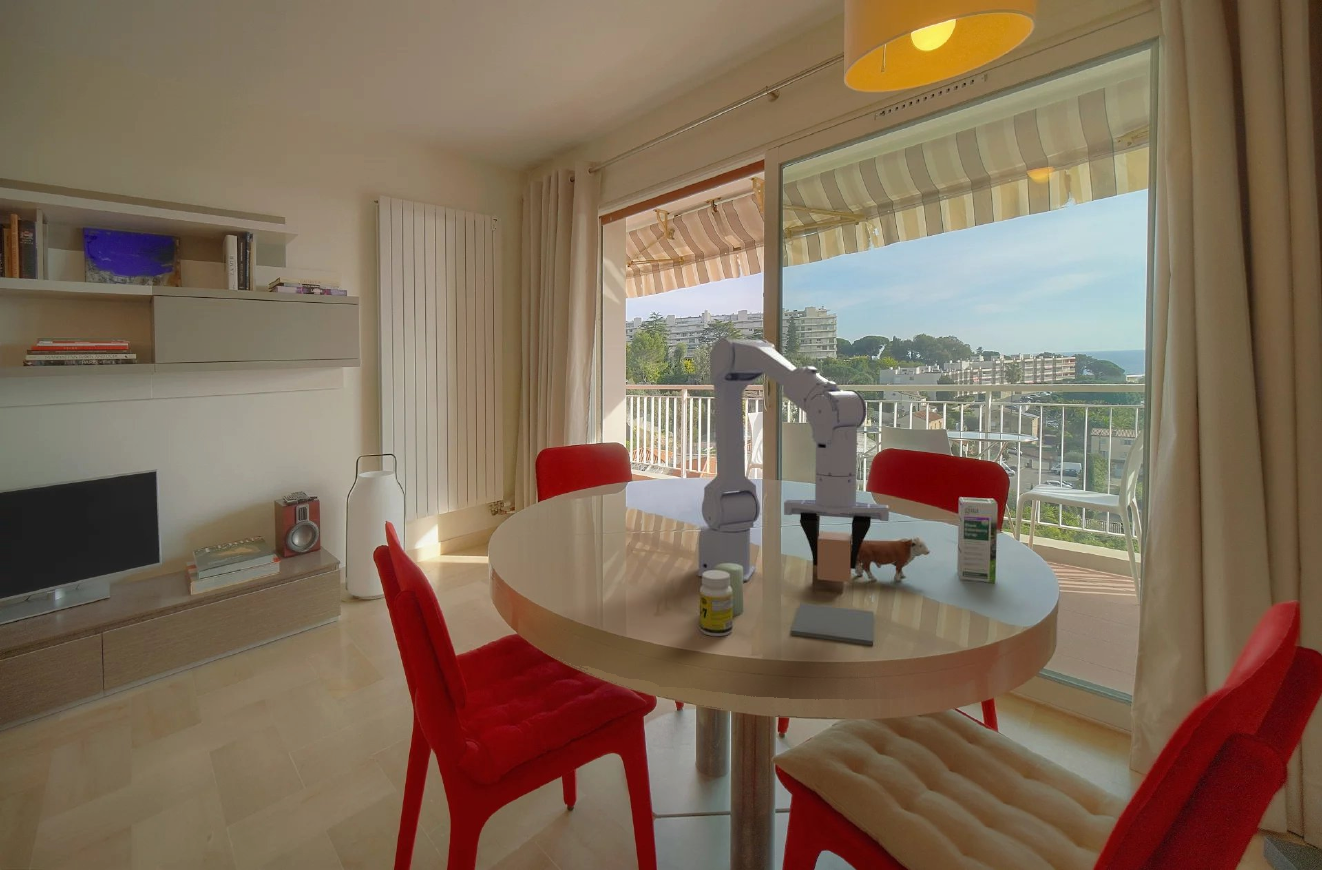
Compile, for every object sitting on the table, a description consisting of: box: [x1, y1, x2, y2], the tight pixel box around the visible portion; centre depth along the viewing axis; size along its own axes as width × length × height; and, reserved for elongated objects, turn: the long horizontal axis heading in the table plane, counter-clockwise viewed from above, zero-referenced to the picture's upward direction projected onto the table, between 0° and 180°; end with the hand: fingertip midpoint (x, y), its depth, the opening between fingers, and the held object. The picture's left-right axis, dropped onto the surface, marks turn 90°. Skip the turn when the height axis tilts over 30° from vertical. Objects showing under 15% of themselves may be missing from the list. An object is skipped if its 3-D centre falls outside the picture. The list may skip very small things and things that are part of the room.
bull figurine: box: [854, 536, 931, 582], centre depth 106 cm, size 4×13×8 cm, turn 78°
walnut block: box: [811, 562, 845, 595], centre depth 102 cm, size 5×5×6 cm
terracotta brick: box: [817, 530, 852, 583], centre depth 86 cm, size 4×4×6 cm
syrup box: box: [956, 496, 999, 584], centre depth 107 cm, size 6×6×14 cm
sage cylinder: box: [715, 563, 744, 617], centre depth 92 cm, size 4×4×7 cm
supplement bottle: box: [699, 570, 734, 637], centre depth 85 cm, size 5×5×8 cm
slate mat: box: [790, 603, 874, 646], centre depth 86 cm, size 11×11×1 cm
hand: (834, 565), depth 86 cm, fingers closed on terracotta brick, 4 cm apart
